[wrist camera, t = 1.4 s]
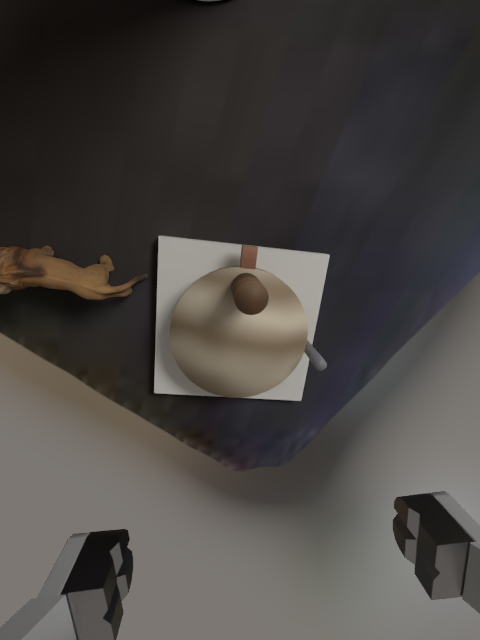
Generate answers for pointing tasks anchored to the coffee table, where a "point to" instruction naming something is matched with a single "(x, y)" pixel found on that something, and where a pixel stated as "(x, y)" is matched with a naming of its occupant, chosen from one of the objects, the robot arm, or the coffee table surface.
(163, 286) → the post base
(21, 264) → the lion figurine
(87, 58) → the coffee table surface
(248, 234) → the coffee table surface
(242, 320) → the beige round knobbed piece
